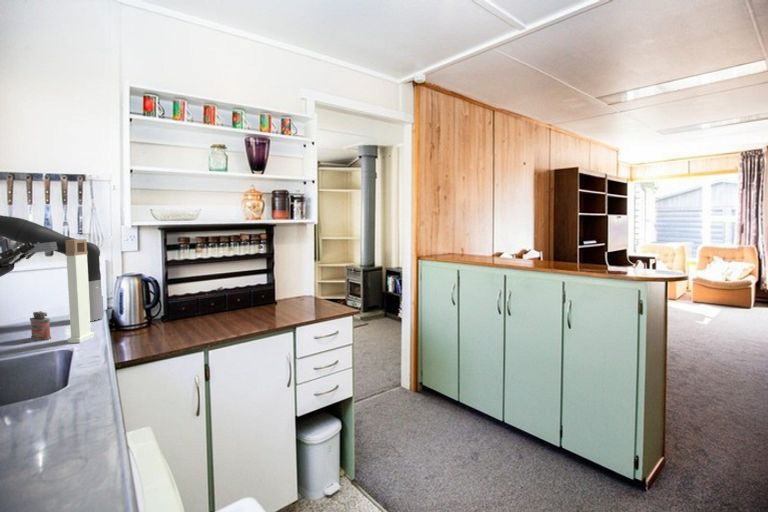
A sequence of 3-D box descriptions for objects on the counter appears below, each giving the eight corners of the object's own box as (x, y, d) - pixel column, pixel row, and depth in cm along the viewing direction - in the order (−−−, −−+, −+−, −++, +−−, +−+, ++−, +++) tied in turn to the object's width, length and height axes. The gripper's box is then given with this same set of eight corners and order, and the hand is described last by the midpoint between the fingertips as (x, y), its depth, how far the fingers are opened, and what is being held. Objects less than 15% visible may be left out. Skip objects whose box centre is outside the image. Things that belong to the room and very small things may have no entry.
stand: (83, 336, 151) (78, 239, 148) (94, 336, 152) (89, 239, 148) (67, 342, 143) (61, 240, 140) (79, 342, 144) (74, 240, 140)
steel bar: (26, 253, 145) (24, 245, 144) (57, 249, 145) (56, 241, 145) (19, 254, 142) (17, 245, 141) (51, 250, 142) (49, 242, 142)
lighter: (28, 338, 147) (26, 311, 146) (38, 336, 150) (37, 309, 150) (43, 341, 145) (41, 313, 144) (53, 338, 148) (52, 311, 147)
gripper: (-33, 261, 136) (12, 236, 136) (3, 256, 150) (44, 234, 150) (-20, 280, 137) (25, 255, 137) (15, 274, 151) (56, 251, 151)
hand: (35, 244), depth 143 cm, fingers closed on steel bar, 3 cm apart
